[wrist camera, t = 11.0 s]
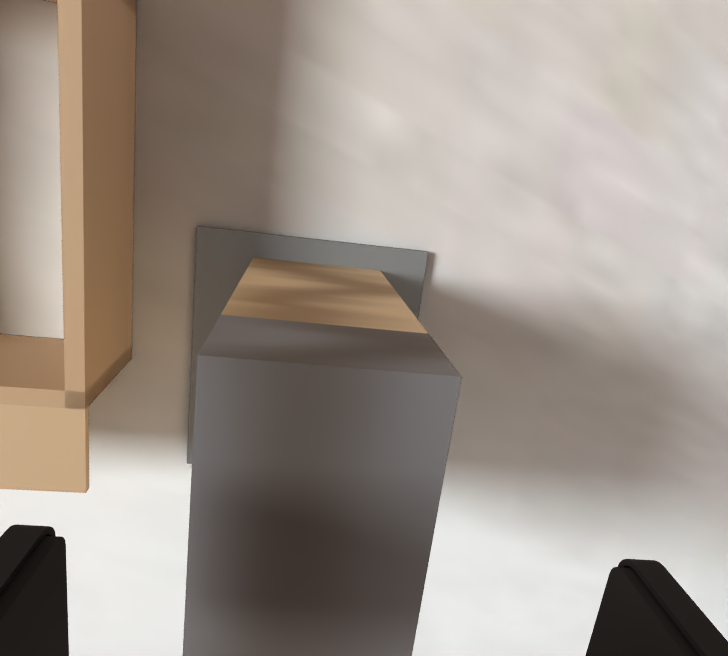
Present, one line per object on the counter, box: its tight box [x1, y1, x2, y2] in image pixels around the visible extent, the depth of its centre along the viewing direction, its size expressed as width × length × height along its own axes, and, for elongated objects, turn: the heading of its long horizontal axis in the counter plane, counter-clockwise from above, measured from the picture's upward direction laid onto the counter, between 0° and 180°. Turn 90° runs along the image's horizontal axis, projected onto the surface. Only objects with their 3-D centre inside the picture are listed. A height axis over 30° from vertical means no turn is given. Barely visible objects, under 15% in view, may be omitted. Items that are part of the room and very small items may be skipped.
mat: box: [187, 226, 428, 464], centre depth 23 cm, size 9×10×1 cm
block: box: [183, 257, 462, 656], centre depth 17 cm, size 5×8×12 cm, turn 173°
